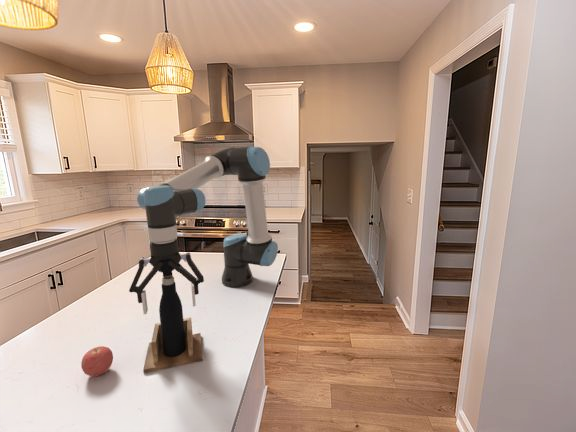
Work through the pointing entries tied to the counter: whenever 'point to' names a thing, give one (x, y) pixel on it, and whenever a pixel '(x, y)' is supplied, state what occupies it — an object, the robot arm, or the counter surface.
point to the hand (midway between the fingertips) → (170, 308)
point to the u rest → (190, 355)
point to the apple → (97, 361)
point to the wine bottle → (171, 315)
